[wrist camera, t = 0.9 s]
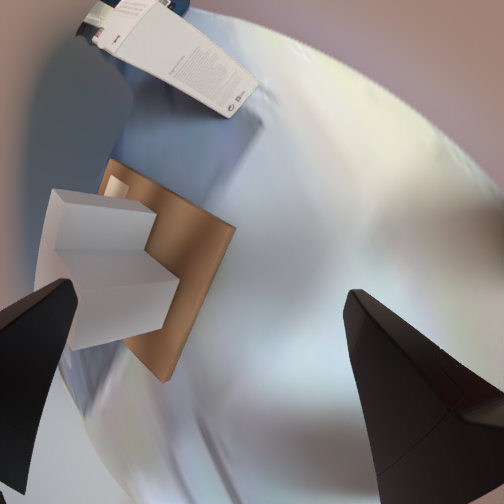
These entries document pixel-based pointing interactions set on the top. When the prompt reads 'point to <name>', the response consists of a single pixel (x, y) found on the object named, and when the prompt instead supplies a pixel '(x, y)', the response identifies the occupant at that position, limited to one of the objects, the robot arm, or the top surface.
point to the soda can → (177, 3)
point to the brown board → (172, 260)
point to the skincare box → (175, 54)
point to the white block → (104, 266)
